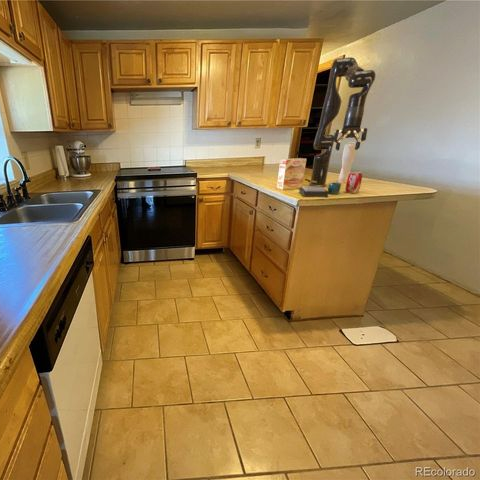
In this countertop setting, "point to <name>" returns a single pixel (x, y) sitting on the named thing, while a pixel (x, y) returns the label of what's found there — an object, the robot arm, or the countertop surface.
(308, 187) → the scale pan
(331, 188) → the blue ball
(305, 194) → the scale
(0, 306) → the countertop surface
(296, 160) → the coffeecake box
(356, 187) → the soda can
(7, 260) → the countertop surface
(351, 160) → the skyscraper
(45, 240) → the countertop surface
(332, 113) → the robot arm
